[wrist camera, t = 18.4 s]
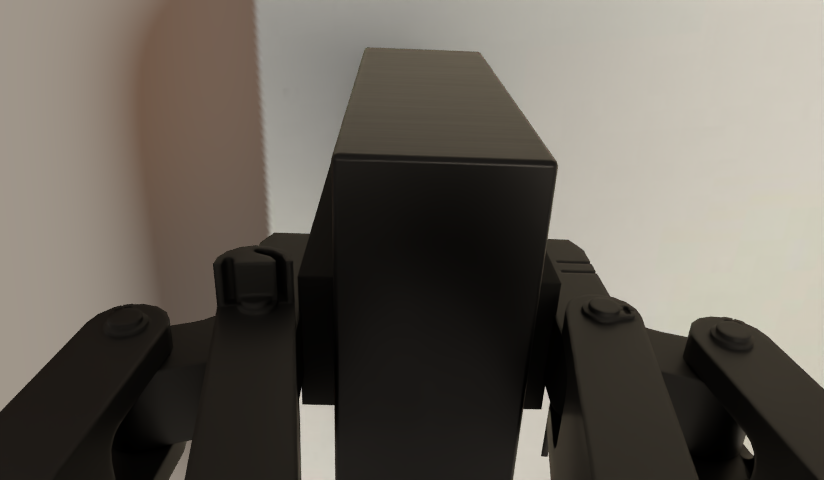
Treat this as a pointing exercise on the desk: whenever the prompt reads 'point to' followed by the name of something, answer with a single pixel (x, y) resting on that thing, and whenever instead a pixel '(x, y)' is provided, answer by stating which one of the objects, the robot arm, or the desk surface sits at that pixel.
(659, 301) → the desk surface
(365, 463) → the black and grey bar
